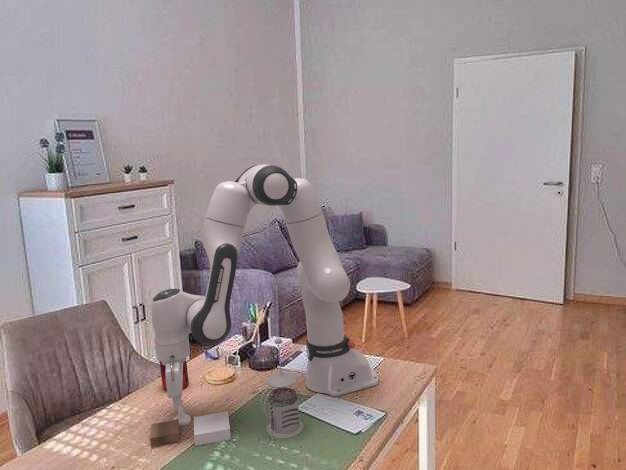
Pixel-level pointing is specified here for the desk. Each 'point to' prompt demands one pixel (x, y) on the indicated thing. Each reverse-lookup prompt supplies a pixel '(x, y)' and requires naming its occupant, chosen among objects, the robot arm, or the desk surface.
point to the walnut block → (164, 433)
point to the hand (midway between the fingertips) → (177, 397)
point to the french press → (289, 421)
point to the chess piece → (182, 415)
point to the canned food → (185, 375)
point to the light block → (211, 428)
